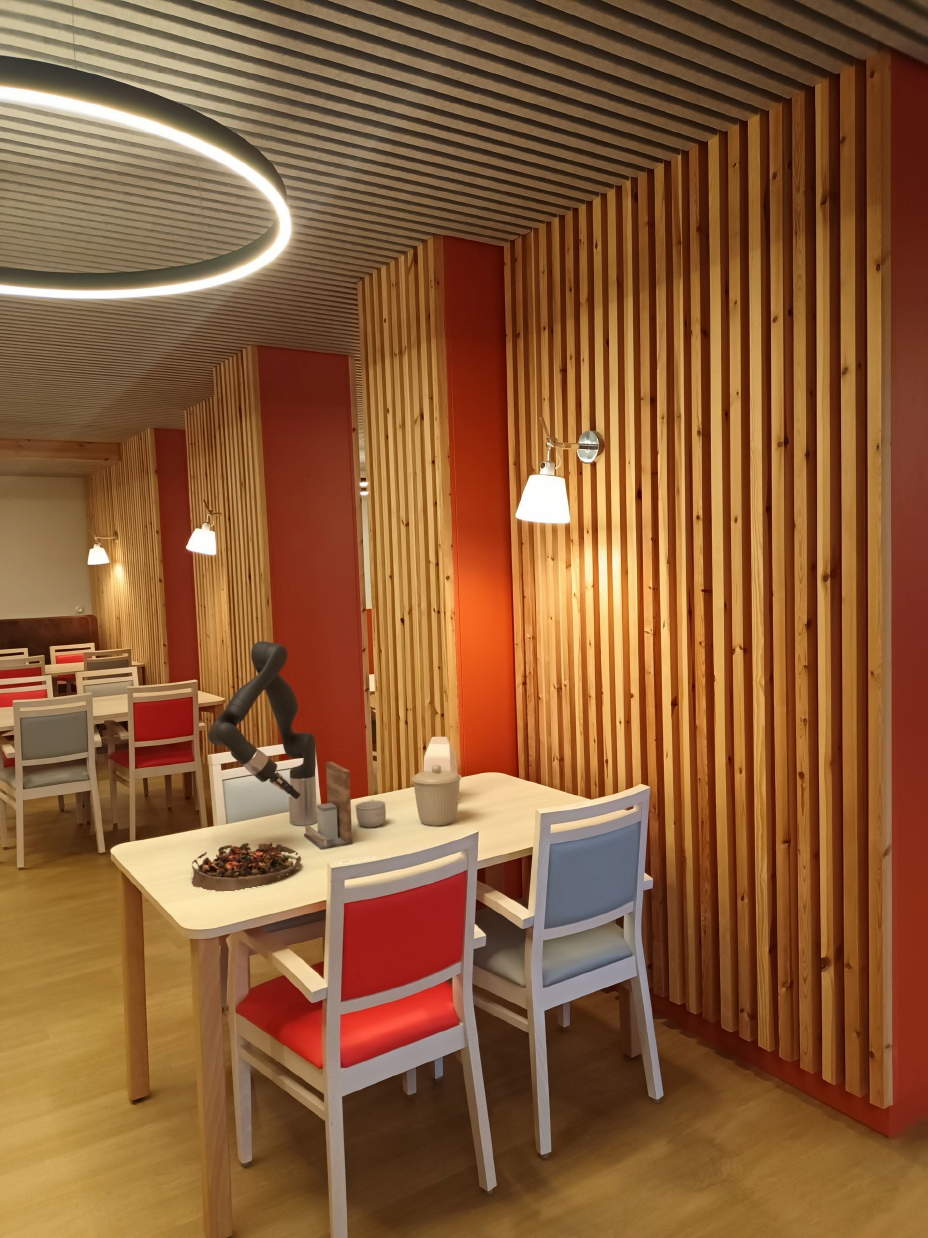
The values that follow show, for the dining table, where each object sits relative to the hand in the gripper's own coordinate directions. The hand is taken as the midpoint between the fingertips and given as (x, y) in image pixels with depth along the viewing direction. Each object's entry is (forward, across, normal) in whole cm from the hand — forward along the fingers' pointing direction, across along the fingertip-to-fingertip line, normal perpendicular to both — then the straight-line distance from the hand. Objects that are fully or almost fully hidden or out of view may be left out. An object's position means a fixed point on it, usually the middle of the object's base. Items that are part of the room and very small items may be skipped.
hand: (294, 794), depth 305 cm
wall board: (+20, 0, +5) cm, 21 cm away
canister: (+50, -1, -25) cm, 56 cm away
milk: (+60, +24, -34) cm, 73 cm away
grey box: (+20, 0, +4) cm, 20 cm away
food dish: (-3, -17, +28) cm, 33 cm away
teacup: (+35, +10, -10) cm, 38 cm away
